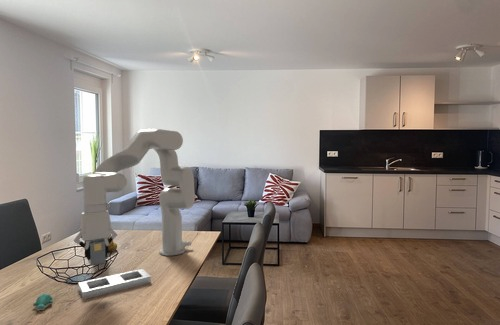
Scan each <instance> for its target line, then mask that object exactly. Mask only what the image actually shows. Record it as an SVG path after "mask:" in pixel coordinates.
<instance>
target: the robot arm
mask: <svg viewBox="0 0 500 325" xmlns="http://www.w3.org/2000/svg"><path fill="white" fill-rule="evenodd" d="M183 141H184V138H183V136H182V134H181V133H180V132H178V131H176V130H170V129H169V130H166V129H160V128H152V129H151V128H147V129H139V130H138V131H137V132H135V134H134V135H133V136H132V137H131V138H130V139H129V141H128V142H127V144H126V145H125V146H124V147H123V148H122V150H120V151H119V152H116V153H114V154H113V155H112V156H110V157H108V158H106V159H104V160H103V161H102V162H101V163H100V164H99V165H98V166H97V167H96V169H94V170H93V172H92V173H91V174H86V175H85V176H84V177H83V181H82V182H83V183H82V184H83V185H82V189H83V212H81V214H80V221H79V224H80V226H79V232H78V233H77V235H76V236H75V238H74V239H73V242H74V243H75V244H77V245H79V246H80V247H82V248H83V249H84V258H86V259H87V261H88V260H90V249H89V244H90V241H92V240H99V239H103V240H105V257H107V254H108V255H109V252H108V246H109V244H110V243H111V242H112V240H113V241H114V239H116V237H118V233H116V231H115V230H114V229H113V228H112V224H111V217H110V212H109V208H111V207H112V205H111V203H107V194H108V193H119V192H122V191H123V190H125V189H126V187H127V185H128V181H127V177H126V176H125V175H124V174H122V173H119V172H120V171H122V170H126V169H129V168H133V167H134V166H137V165H138V164H140V163H141V161H142V160H143V159H144V157H145V156H146V155H147V153H148V152H149V150H151V149H153V150H154V151H155V152H156V154H157V155H158V157H159V165H160V166H159V168H160V179H161V182H162V184H163V185H165V186H169V187H168V188H164V189H162V190H161V191H160V193H159V195H158V201H159V206H160V211H161V235H162V242H161V243H162V244H161V247H162V248H160V249H159V250H158V251H159V254H160V255H162V256H167V257H169V256H172V257H173V256H178V255H182V254H184V253H185V252H186V247H188V246H192V241H191V240H190V241H186V240H185V241H183V225H182V224H183V223H182V222H183V220H182V218H183V217H182V213H181V211H180V209H181V210H182V209H183V210H189V209H191V208H193V206H194V204H195V201H196V199H195V198H196V197H195V196H196V195H195V178H194V176H195V175H194V173H193V170H192V169H191V168H190V167H188V166H179V158H178V154H177V152H176V150H179V149H180V148H182V146H183V143H184V142H183ZM173 187H174V188H173ZM176 187H179V188H176ZM107 238H108V239H107Z"/></svg>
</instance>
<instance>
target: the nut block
mask: <svg viewBox="0 0 500 325" xmlns="http://www.w3.org/2000/svg"><path fill="white" fill-rule="evenodd" d="M89 249H90V260H88V259H87V262H88V263H89V265H90V266H94V265H100V264H105V263H107V262H106V260H107V259H106V258H105V240H103V239H99V240H92V241H90V244H89Z"/></svg>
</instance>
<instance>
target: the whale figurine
mask: <svg viewBox="0 0 500 325" xmlns="http://www.w3.org/2000/svg"><path fill="white" fill-rule="evenodd" d="M52 304H54V301H53V296H52V295H51V294H49V293H42V294H40V295H39V296H38V297H37V298H36V301H35V302H33V304H32V306H33V307H35V311H44V310H45V309H46V308H47V307H49V306H50V305H52Z"/></svg>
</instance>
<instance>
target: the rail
mask: <svg viewBox="0 0 500 325" xmlns="http://www.w3.org/2000/svg"><path fill="white" fill-rule="evenodd" d="M151 283H152V276H151V275H150V274H149V273H148V271H146V270H145V269H144V268H139V269H134V270H130V271H125V272H120V273H115V274H112V275H106V276H102V277H98V278H93V279H89V280H84V281H81V282H80V281H79V282H78V283H77V285H78V288H77V289H78V292H79V293H80V296H81V299H82V300H85V299H89V298H90V299H91V298H94V297H98V296H102V295H106V294H111V293H114V292H119V291H123V290H127V289H131V288H134V287H140V286H143V285H147V284H151Z"/></svg>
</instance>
